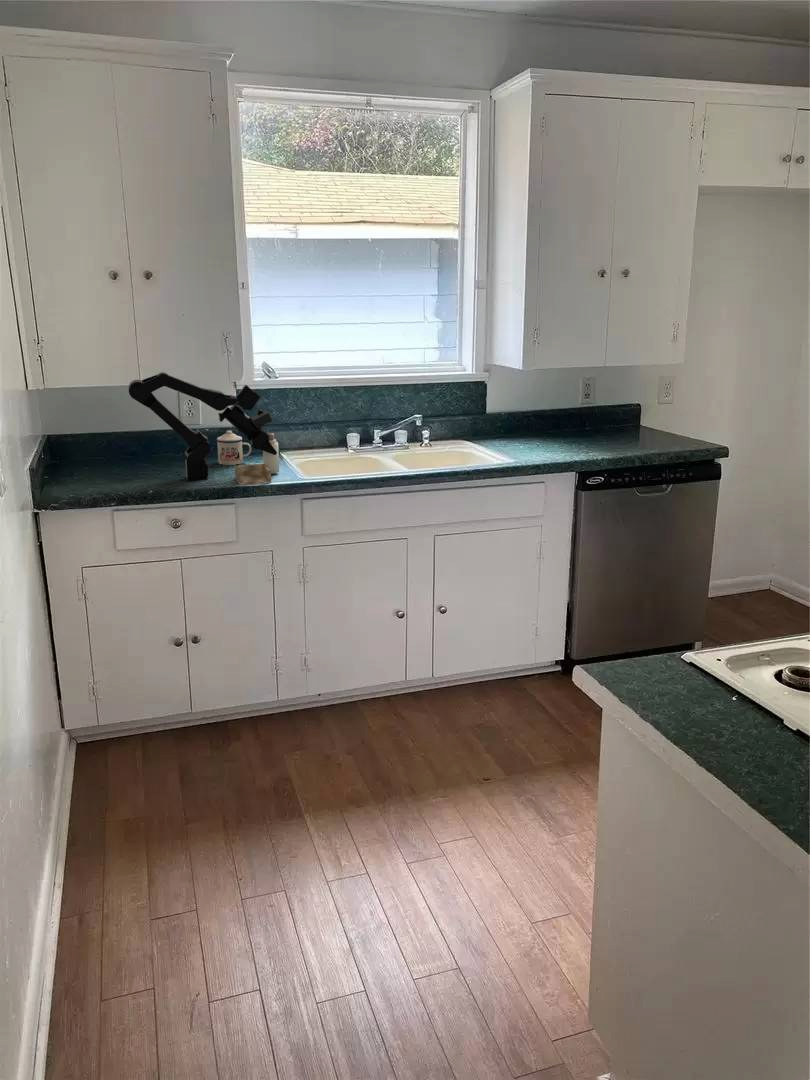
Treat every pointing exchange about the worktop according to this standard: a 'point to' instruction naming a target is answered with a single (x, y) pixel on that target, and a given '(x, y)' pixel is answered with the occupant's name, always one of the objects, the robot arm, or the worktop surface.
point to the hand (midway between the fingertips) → (274, 452)
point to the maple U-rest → (252, 474)
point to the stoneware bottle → (272, 456)
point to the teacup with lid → (231, 449)
